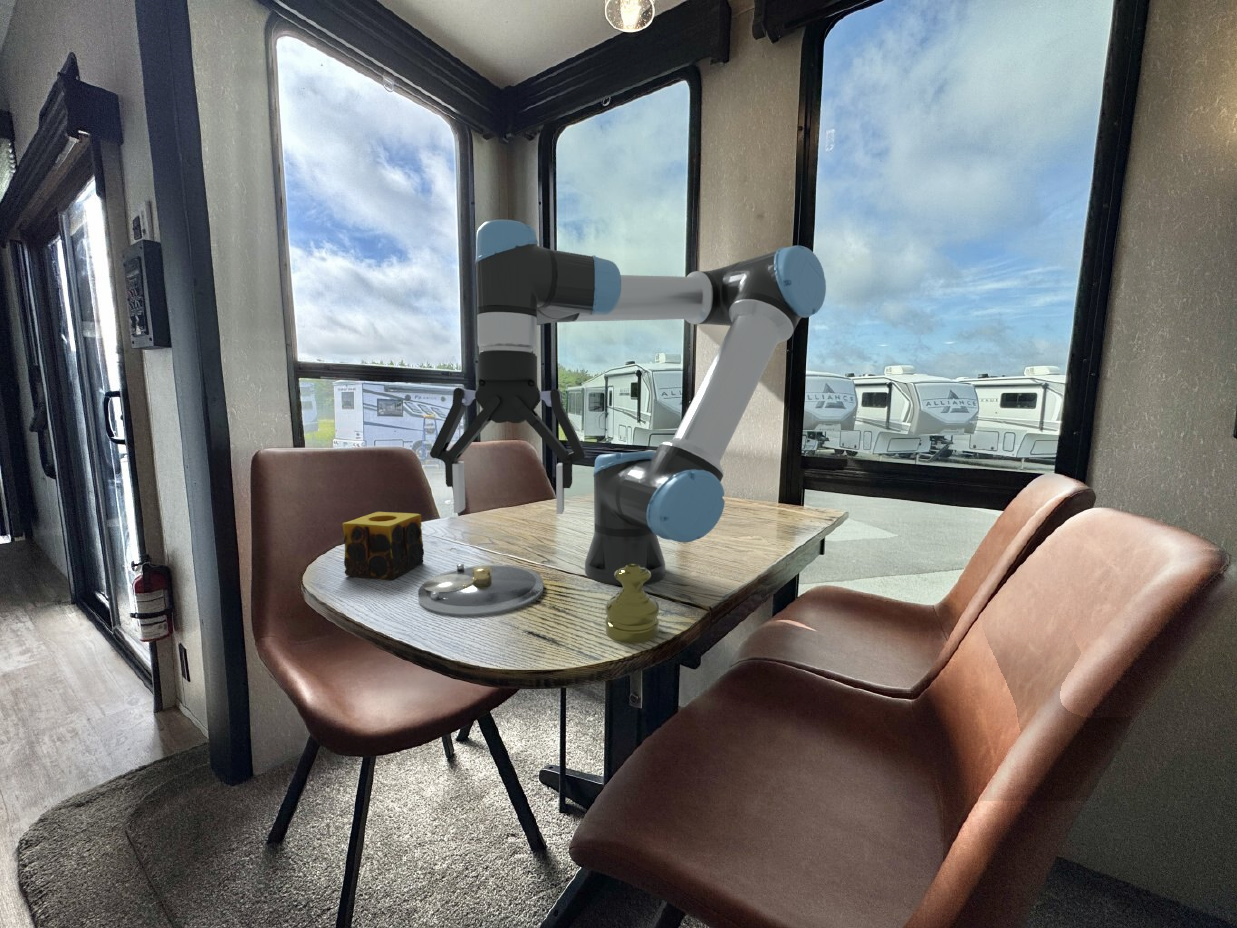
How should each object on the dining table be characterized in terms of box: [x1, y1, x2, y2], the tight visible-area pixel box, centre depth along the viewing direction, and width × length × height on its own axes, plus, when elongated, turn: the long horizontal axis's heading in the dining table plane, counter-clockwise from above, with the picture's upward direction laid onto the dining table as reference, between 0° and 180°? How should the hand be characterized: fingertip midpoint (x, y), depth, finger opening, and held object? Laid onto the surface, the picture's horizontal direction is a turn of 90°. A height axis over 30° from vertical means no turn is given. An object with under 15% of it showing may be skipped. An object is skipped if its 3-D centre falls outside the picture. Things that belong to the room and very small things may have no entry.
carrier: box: [417, 563, 544, 617], centre depth 84 cm, size 20×20×4 cm
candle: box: [342, 511, 425, 581], centre depth 95 cm, size 10×10×10 cm
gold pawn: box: [604, 563, 660, 644], centre depth 69 cm, size 7×7×10 cm
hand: (510, 511), depth 69 cm, fingers open, 13 cm apart
